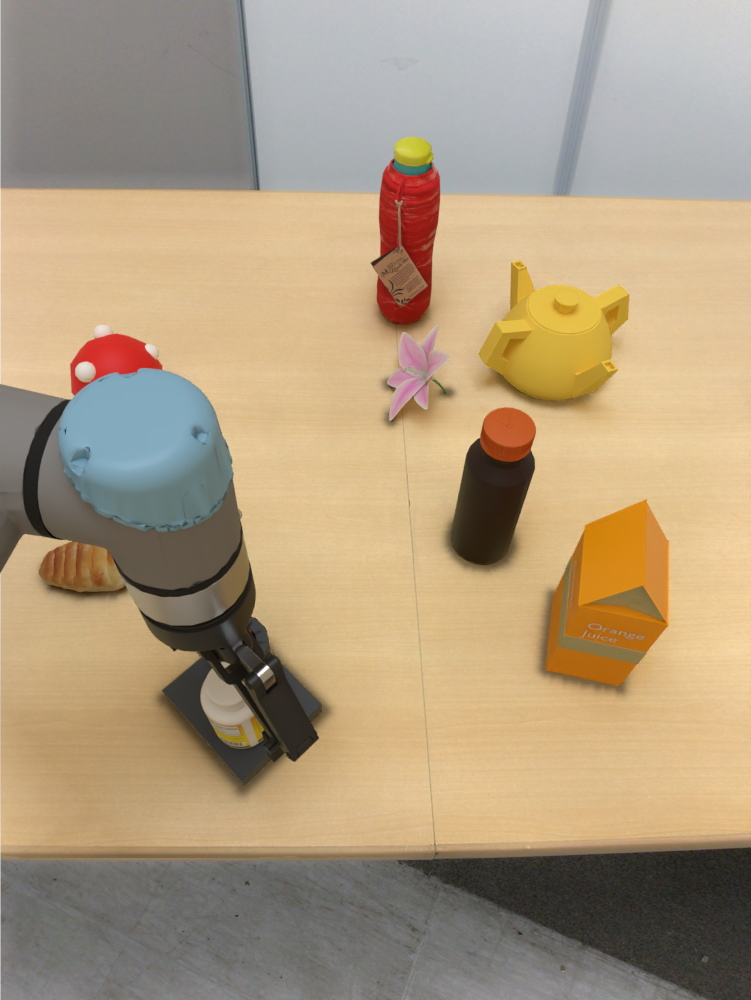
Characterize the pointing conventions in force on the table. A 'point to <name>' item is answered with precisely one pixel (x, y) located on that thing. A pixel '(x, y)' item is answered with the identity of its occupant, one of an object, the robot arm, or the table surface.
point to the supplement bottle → (229, 713)
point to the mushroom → (110, 357)
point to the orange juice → (611, 598)
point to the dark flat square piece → (188, 703)
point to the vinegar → (494, 486)
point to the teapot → (555, 338)
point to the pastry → (81, 568)
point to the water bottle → (407, 231)
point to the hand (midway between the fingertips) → (231, 691)
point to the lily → (415, 371)
